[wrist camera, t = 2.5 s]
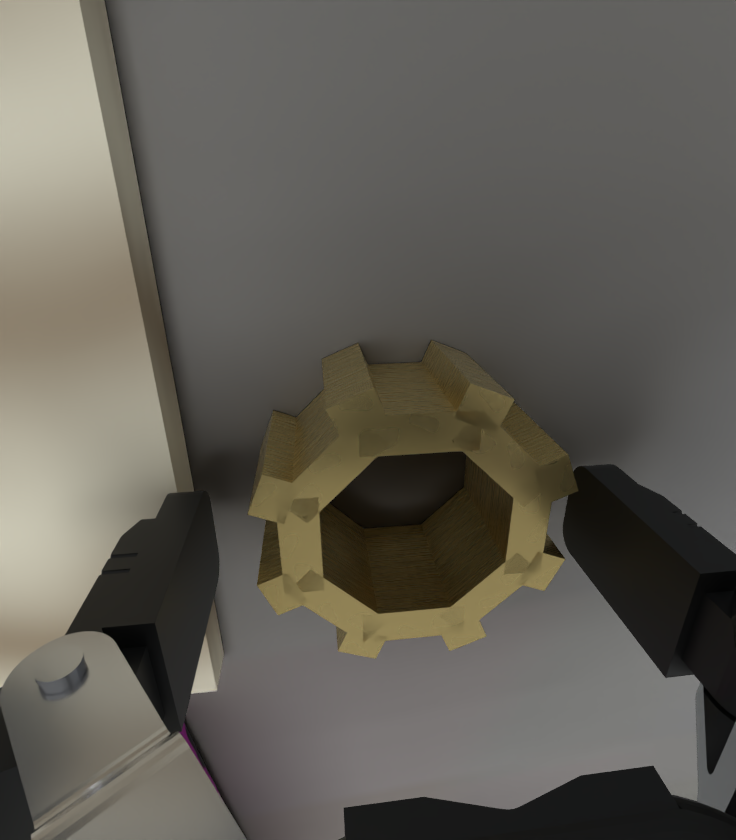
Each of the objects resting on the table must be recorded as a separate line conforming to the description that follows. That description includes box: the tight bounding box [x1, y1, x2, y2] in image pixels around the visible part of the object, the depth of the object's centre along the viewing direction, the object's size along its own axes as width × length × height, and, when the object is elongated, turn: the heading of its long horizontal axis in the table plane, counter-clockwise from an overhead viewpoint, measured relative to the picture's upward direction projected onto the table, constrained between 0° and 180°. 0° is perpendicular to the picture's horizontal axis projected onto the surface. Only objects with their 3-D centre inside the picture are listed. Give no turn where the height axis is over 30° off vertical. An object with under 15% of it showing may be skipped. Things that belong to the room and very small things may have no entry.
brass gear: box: [248, 340, 578, 659], centre depth 11 cm, size 6×6×3 cm
